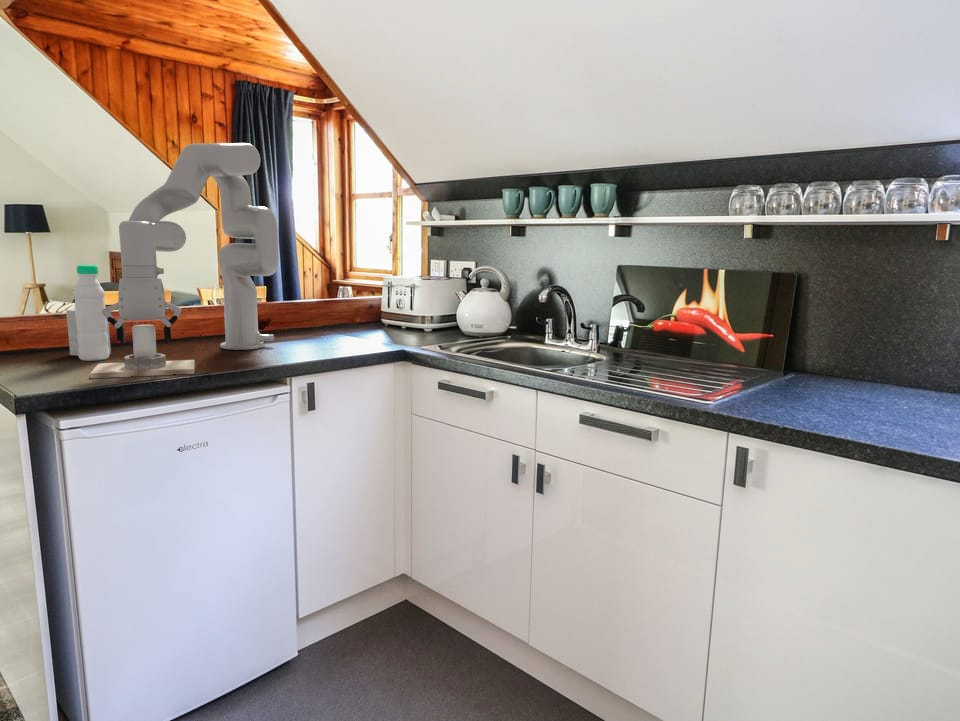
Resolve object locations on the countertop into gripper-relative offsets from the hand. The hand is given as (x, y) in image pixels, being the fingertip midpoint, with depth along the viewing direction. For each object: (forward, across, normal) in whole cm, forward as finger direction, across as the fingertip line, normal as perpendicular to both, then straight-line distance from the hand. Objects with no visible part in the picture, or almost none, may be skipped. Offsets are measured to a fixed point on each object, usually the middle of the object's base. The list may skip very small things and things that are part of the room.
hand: (145, 342), depth 158 cm
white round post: (+6, 0, 0) cm, 6 cm away
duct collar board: (+7, 0, 0) cm, 7 cm away
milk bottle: (+7, +14, -21) cm, 26 cm away
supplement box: (+7, +16, -29) cm, 34 cm away
